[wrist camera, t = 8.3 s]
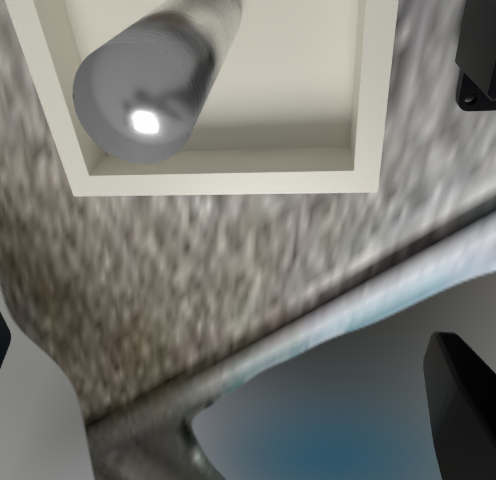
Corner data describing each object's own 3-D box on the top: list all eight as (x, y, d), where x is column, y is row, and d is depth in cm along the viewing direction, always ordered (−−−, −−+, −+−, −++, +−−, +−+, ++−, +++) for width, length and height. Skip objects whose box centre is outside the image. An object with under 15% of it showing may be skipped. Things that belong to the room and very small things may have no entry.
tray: (407, -255, 13) (430, -291, 10) (369, 158, 21) (377, 192, 18) (-11, -198, 15) (-73, -219, 12) (98, 165, 22) (74, 196, 20)
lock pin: (237, -25, 16) (183, 37, 8) (244, 46, 17) (202, 161, 9) (172, -19, 16) (55, 47, 8) (183, 50, 18) (92, 166, 10)
